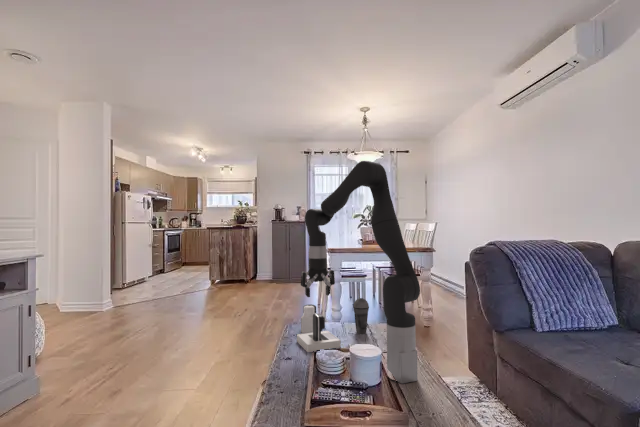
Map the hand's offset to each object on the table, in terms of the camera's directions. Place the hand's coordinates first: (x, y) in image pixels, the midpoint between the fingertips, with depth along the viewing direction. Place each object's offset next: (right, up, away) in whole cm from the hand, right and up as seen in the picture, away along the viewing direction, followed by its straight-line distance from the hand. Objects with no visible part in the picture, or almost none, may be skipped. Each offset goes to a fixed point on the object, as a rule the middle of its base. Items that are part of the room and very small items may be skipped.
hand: (318, 296), depth 154 cm
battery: (0, -19, 0) cm, 19 cm away
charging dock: (0, -20, 0) cm, 20 cm away
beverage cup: (+20, -20, +16) cm, 32 cm away
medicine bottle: (-4, -21, +18) cm, 28 cm away
